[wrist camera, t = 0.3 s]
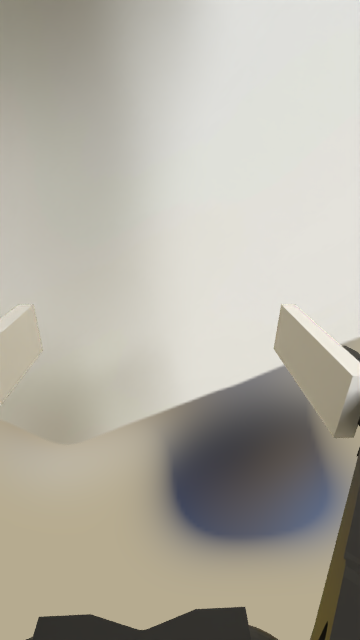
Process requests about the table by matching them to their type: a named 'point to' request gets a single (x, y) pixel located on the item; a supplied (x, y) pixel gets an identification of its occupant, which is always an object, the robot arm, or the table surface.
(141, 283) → the table surface
